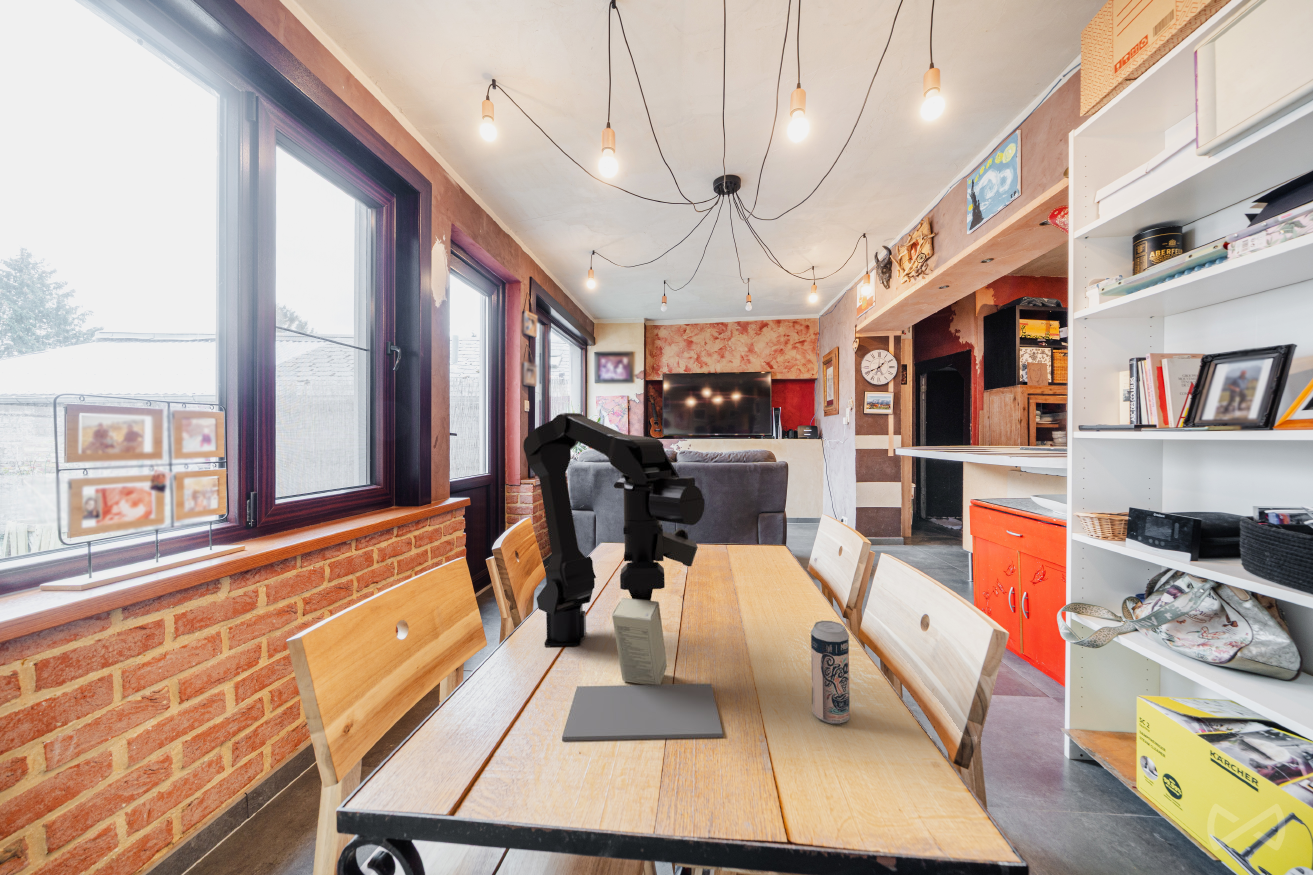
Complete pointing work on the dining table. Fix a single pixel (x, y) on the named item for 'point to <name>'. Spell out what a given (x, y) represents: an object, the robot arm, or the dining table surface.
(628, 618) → the skincare box
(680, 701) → the mat
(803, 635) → the dining table surface
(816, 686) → the beer can
